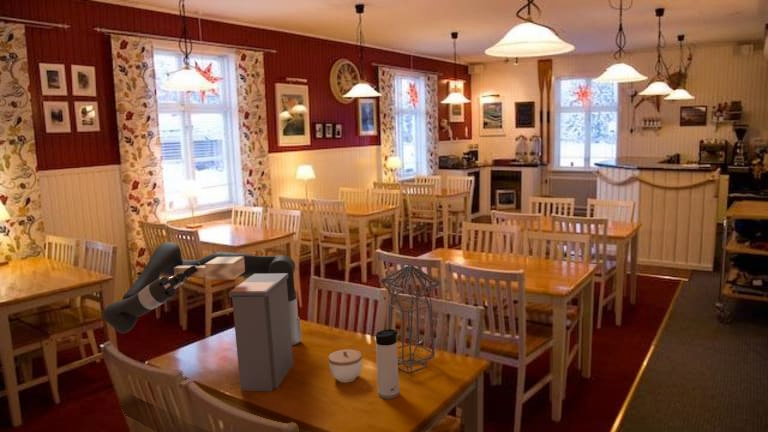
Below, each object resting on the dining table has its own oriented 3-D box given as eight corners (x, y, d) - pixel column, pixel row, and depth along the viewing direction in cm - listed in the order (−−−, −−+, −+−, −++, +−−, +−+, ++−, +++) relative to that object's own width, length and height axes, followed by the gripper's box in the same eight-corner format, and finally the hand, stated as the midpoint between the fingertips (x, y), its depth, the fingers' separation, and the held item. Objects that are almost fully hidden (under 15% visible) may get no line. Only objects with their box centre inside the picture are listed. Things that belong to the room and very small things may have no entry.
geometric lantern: (415, 353, 205) (414, 257, 199) (444, 369, 192) (443, 266, 186) (378, 364, 196) (375, 264, 190) (405, 381, 183) (403, 274, 177)
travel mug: (398, 399, 171) (395, 335, 168) (376, 398, 172) (373, 334, 169) (402, 390, 177) (399, 327, 174) (380, 389, 178) (377, 327, 175)
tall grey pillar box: (237, 390, 182) (228, 291, 177) (261, 362, 204) (254, 273, 199) (274, 391, 181) (266, 291, 175) (294, 362, 202) (288, 272, 197)
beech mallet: (170, 279, 180) (168, 264, 180) (183, 272, 189) (182, 257, 188) (234, 279, 177) (232, 263, 177) (245, 271, 186) (243, 256, 185)
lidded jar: (337, 388, 180) (336, 360, 179) (324, 376, 190) (323, 349, 188) (368, 380, 185) (367, 352, 184) (354, 368, 194) (353, 342, 193)
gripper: (138, 289, 180) (181, 261, 176) (161, 277, 193) (201, 251, 190) (152, 309, 180) (194, 282, 177) (174, 296, 194) (214, 270, 190)
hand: (198, 266), depth 183 cm, fingers closed on beech mallet, 3 cm apart
